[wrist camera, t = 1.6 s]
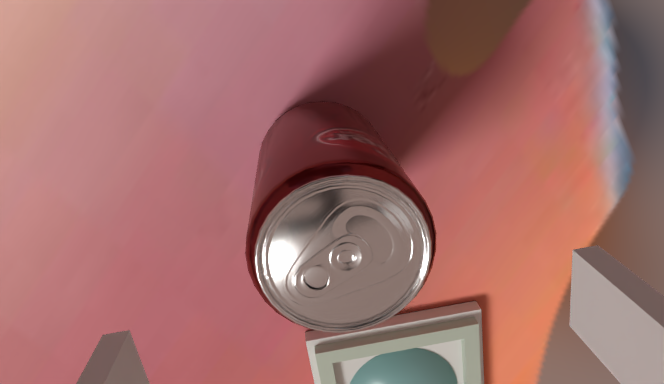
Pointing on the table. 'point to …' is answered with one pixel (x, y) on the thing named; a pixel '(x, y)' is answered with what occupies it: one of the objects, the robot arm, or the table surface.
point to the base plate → (404, 349)
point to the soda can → (335, 222)
